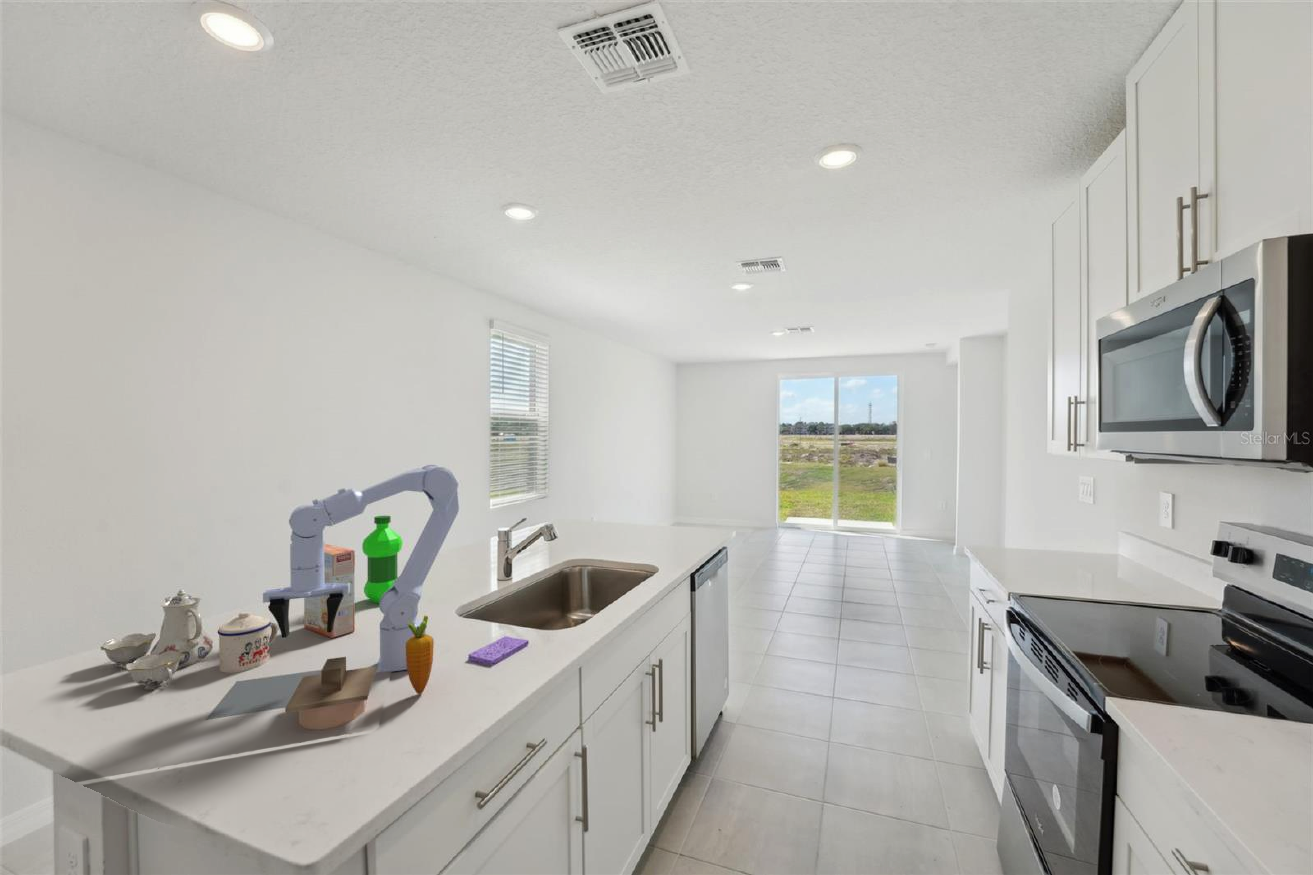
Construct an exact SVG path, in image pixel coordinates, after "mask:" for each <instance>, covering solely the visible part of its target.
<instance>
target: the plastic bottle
mask: <svg viewBox="0 0 1313 875" xmlns="http://www.w3.org/2000/svg"><path fill="white" fill-rule="evenodd" d="M373 518H374V522H373V523H374V525H376V528H375V529H374V530H373V531H372V532H371V533H369V534H368V535H367V536H366V537H365V538H364V539H363V542H362V547H361V548H362V552H363V554H364V555H365V556H367V581H366V582H365V584H364V587H363V593H364V595H365V597H367V599H369V600H370V601H372V602H373V603H374V604H379V601H380V599H381V597H382V595H383V594H384V593H385V592H386V591H388V590H389V589H390V588H391V586H392V585H393V583H394V581H395V580H396V579H397V578H398V577H399V576H398V553H399V552H400V551H401V550H402V547H403V540H402V537H401V535H399V534H398V533H397V532H396V531H394V530H393V529H391V528H390V527H389V526H390V525H389V524H390V523H392V520H391V518H392V517H391V515H378V516H377V515H376V516H374V517H373Z"/></svg>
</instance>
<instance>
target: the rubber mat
mask: <svg viewBox="0 0 1313 875" xmlns="http://www.w3.org/2000/svg"><path fill="white" fill-rule="evenodd" d="M321 670H322V669H318V670H310V671H302V672H296V673H290V674H280V675H274V676H266V677H260V678H250V679H245V680H239V681H238V680H237V681H236V682H235V683H234V684H233V685H232V686H231V687H230V689H229V690H228V692H227V693H226V694H225V695H224V697H223V698H222V699H221V700H220V701H219V702H218V704H217V705H216V706H215V707H214V708H213V709H212V711H211V712H210V713H209V715H207V717H206V718H205V721H207V720H212V719H218V718H219V719H220V718H225V717H231V716H237V715H246V714H251V713H257V712H264V711H270V710H277V709H278V710H279V709H283V708H284V709H285V708H286V706H287V704H288V703H289V701H290V699H291V697H292V696H293V694H294V692H295V690H296V689H297V687H298V685H299V683H300V682H301V680H302V678H303V677H304V676H311V675H318V674H321Z"/></svg>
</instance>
